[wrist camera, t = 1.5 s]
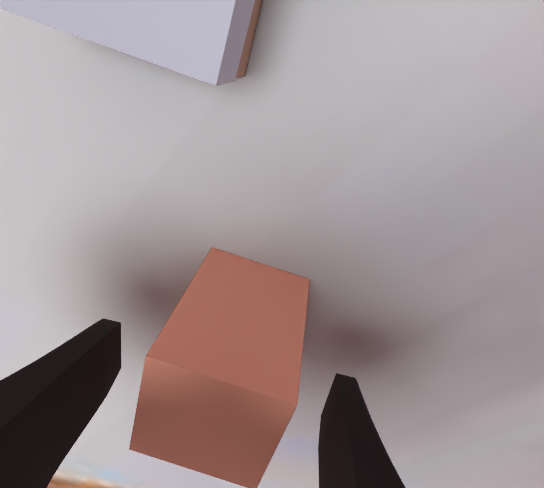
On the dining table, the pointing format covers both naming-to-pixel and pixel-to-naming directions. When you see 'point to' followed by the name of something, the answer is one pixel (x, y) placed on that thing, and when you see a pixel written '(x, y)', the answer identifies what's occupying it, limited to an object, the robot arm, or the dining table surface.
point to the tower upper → (155, 30)
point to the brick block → (224, 370)
